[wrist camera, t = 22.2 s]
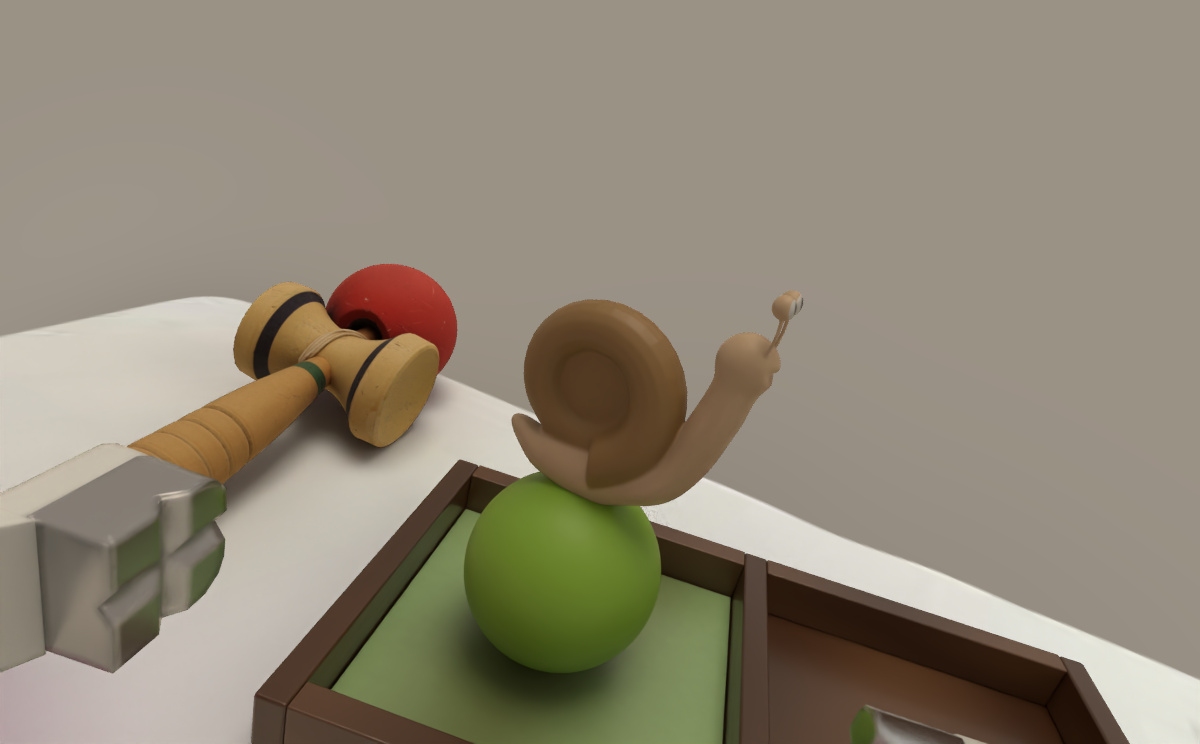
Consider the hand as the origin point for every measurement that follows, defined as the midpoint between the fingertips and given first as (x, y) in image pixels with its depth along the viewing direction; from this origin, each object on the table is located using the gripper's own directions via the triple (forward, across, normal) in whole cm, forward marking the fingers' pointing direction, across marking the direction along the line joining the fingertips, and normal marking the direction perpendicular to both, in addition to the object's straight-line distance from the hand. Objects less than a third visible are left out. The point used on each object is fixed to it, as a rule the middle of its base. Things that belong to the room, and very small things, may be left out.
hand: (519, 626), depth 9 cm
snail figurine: (+9, 0, +9) cm, 13 cm away
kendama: (+16, +13, +10) cm, 23 cm away
